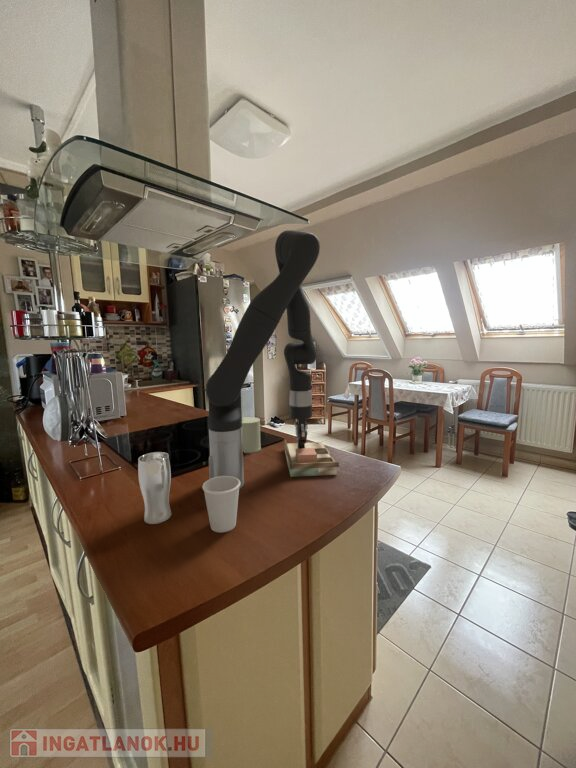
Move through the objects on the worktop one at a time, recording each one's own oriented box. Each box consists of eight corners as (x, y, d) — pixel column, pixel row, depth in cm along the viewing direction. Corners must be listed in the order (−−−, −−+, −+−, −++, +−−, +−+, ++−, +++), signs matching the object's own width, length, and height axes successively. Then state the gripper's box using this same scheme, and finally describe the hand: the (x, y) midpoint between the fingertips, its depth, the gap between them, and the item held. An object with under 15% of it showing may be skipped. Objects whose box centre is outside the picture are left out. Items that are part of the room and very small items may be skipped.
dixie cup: (201, 520, 74) (199, 479, 73) (236, 511, 77) (235, 472, 76) (208, 540, 67) (205, 495, 65) (246, 530, 70) (244, 487, 68)
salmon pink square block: (298, 466, 99) (298, 455, 98) (295, 458, 105) (295, 448, 104) (317, 465, 99) (317, 454, 99) (313, 458, 105) (313, 447, 105)
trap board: (290, 476, 97) (290, 464, 96) (284, 449, 120) (284, 439, 120) (338, 474, 98) (338, 462, 97) (323, 448, 122) (323, 438, 121)
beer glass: (163, 506, 80) (160, 449, 78) (179, 515, 76) (175, 455, 74) (136, 518, 75) (131, 457, 73) (151, 529, 71) (146, 465, 69)
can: (235, 446, 125) (234, 416, 123) (258, 444, 127) (257, 414, 126) (238, 454, 116) (237, 422, 114) (263, 451, 119) (262, 420, 117)
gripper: (315, 407, 98) (315, 460, 101) (309, 399, 112) (309, 446, 114) (291, 407, 98) (292, 461, 100) (287, 399, 111) (288, 447, 113)
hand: (301, 453), depth 107 cm, fingers closed
